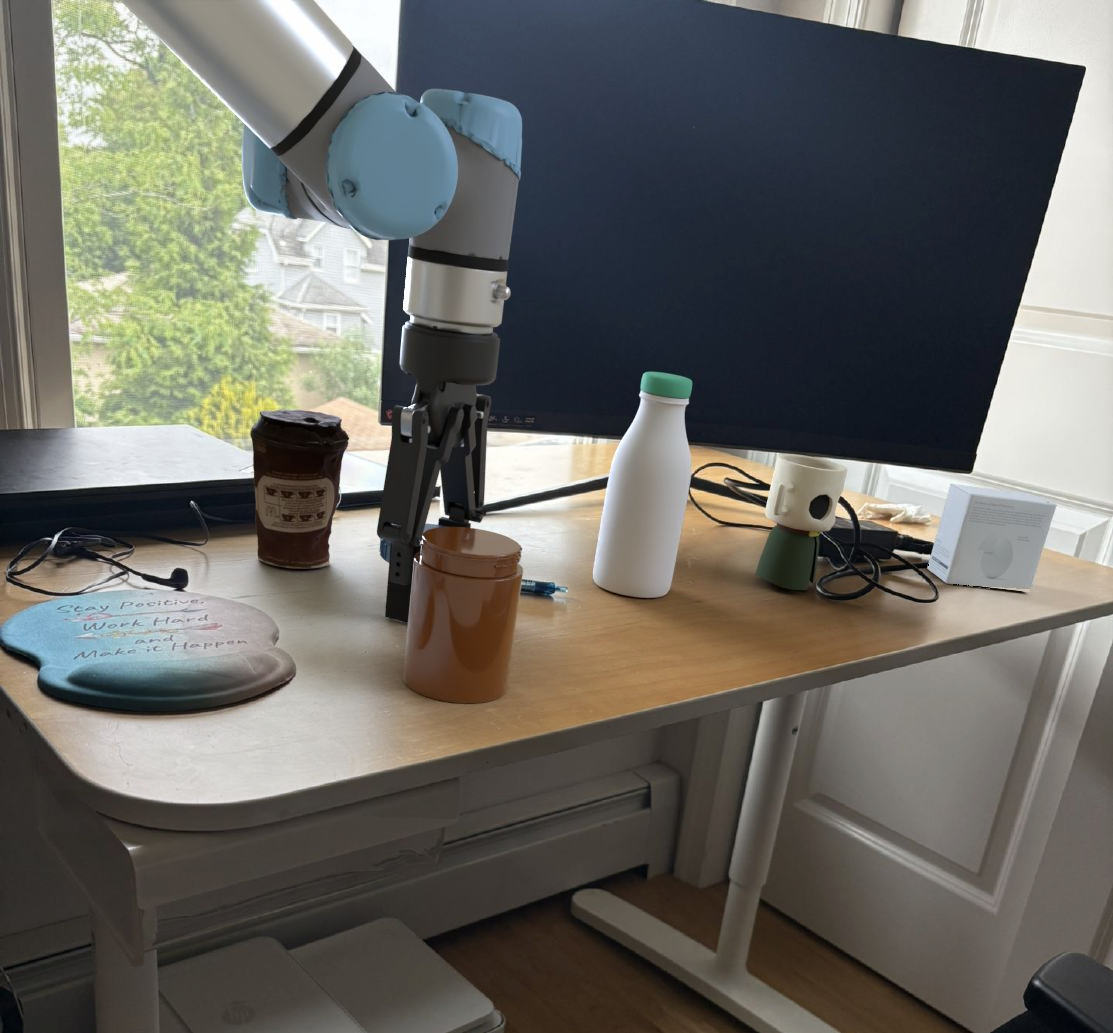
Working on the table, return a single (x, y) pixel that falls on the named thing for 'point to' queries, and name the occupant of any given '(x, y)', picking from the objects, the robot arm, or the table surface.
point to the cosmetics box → (990, 537)
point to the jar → (462, 614)
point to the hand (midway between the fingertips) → (425, 605)
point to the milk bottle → (647, 493)
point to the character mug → (799, 518)
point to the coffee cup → (296, 485)
